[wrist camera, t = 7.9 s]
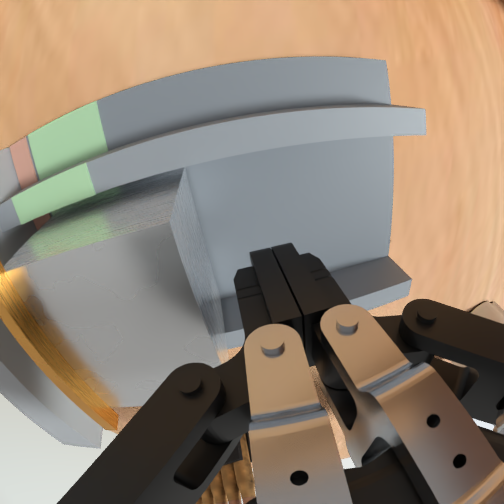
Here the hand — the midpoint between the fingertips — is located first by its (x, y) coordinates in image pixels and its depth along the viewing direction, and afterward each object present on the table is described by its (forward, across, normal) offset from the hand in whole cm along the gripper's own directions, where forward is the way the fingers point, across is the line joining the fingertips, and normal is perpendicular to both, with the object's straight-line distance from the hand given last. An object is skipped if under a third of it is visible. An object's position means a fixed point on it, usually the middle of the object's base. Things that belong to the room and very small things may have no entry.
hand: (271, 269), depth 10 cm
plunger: (+3, +5, 0) cm, 6 cm away
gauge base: (+5, +3, 0) cm, 6 cm away
